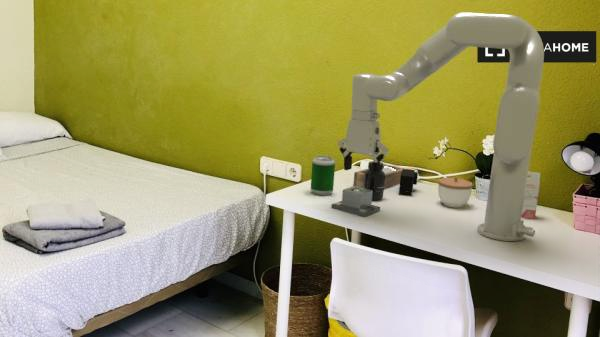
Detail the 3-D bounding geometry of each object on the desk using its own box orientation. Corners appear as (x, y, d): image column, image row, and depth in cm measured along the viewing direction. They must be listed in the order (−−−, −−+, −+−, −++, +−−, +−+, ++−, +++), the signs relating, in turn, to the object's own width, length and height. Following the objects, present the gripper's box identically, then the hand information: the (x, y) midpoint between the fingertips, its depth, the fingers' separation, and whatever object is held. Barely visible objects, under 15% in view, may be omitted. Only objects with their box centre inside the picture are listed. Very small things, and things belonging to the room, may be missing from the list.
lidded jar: (452, 198, 204) (455, 171, 202) (476, 207, 195) (480, 179, 193) (429, 202, 198) (432, 174, 196) (453, 211, 189) (457, 182, 187)
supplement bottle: (382, 202, 195) (385, 166, 192) (361, 199, 196) (364, 164, 193) (383, 196, 201) (387, 161, 199) (363, 194, 203) (366, 159, 200)
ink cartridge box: (535, 215, 190) (542, 170, 187) (534, 219, 186) (541, 173, 182) (506, 211, 193) (513, 166, 190) (505, 215, 189) (512, 169, 185)
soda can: (333, 196, 198) (335, 161, 195) (310, 195, 198) (312, 159, 195) (332, 190, 205) (335, 156, 202) (310, 189, 205) (312, 154, 202)
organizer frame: (404, 181, 222) (406, 168, 221) (376, 191, 207) (377, 177, 206) (382, 176, 228) (383, 163, 227) (353, 186, 212) (354, 172, 211)
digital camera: (414, 197, 203) (417, 177, 202) (398, 195, 205) (400, 175, 203) (416, 189, 213) (418, 170, 212) (400, 187, 214) (402, 168, 213)
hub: (371, 206, 186) (372, 190, 184) (359, 210, 180) (361, 194, 179) (353, 201, 189) (354, 186, 188) (341, 205, 184) (342, 189, 183)
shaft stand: (379, 210, 185) (381, 191, 184) (364, 217, 178) (366, 197, 177) (347, 202, 192) (348, 183, 191) (331, 207, 185) (332, 188, 184)
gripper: (395, 117, 176) (392, 174, 180) (346, 111, 187) (344, 165, 190) (382, 120, 170) (379, 179, 174) (332, 114, 181) (330, 169, 185)
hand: (361, 172), depth 182 cm, fingers open, 9 cm apart
